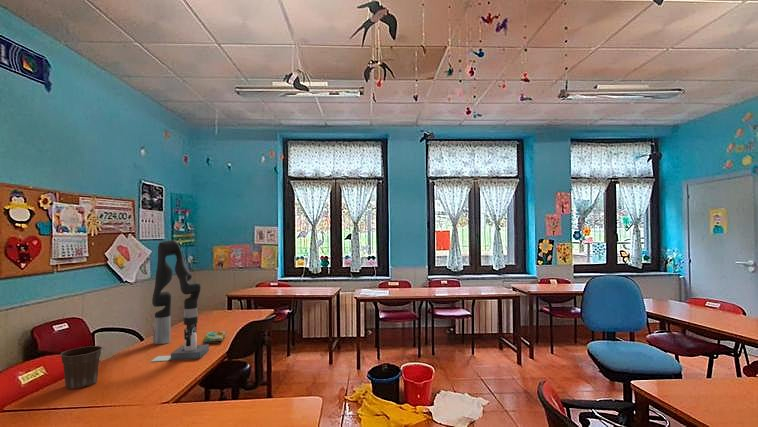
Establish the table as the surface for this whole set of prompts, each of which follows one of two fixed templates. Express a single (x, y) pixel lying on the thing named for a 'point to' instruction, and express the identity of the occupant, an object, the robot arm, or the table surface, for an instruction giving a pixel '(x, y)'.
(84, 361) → the plant pot
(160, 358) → the mat
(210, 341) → the puzzle game
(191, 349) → the can
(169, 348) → the table surface
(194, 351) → the hollow block
